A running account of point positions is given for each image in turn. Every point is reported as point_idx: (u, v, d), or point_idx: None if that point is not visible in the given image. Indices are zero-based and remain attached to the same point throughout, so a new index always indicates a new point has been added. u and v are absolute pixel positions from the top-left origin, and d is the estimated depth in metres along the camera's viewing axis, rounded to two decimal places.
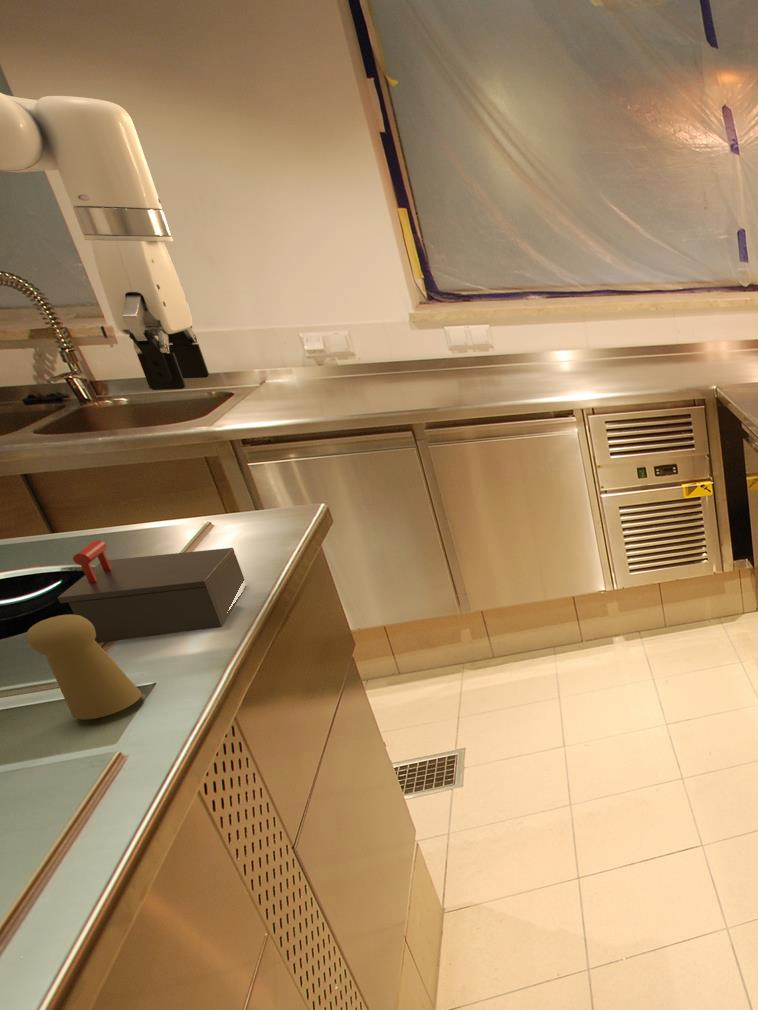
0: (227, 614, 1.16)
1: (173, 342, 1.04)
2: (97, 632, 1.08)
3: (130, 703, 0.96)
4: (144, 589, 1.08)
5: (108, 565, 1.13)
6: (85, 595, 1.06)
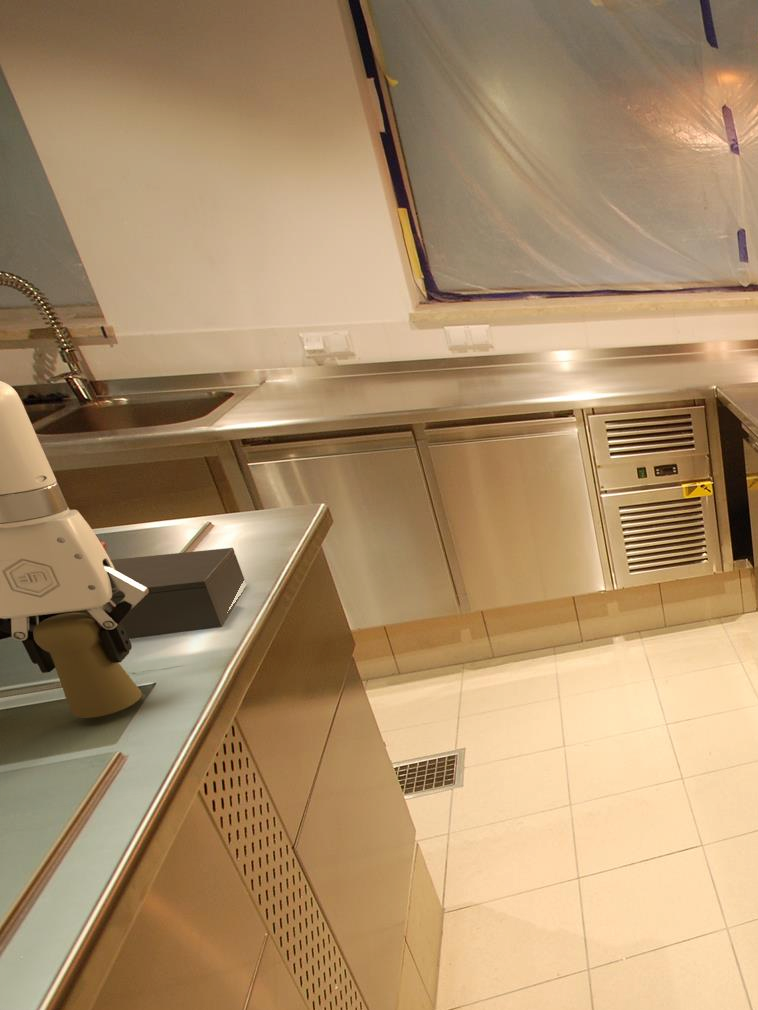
0: (227, 614, 1.16)
1: None
2: None
3: (130, 703, 0.96)
4: None
5: None
6: None
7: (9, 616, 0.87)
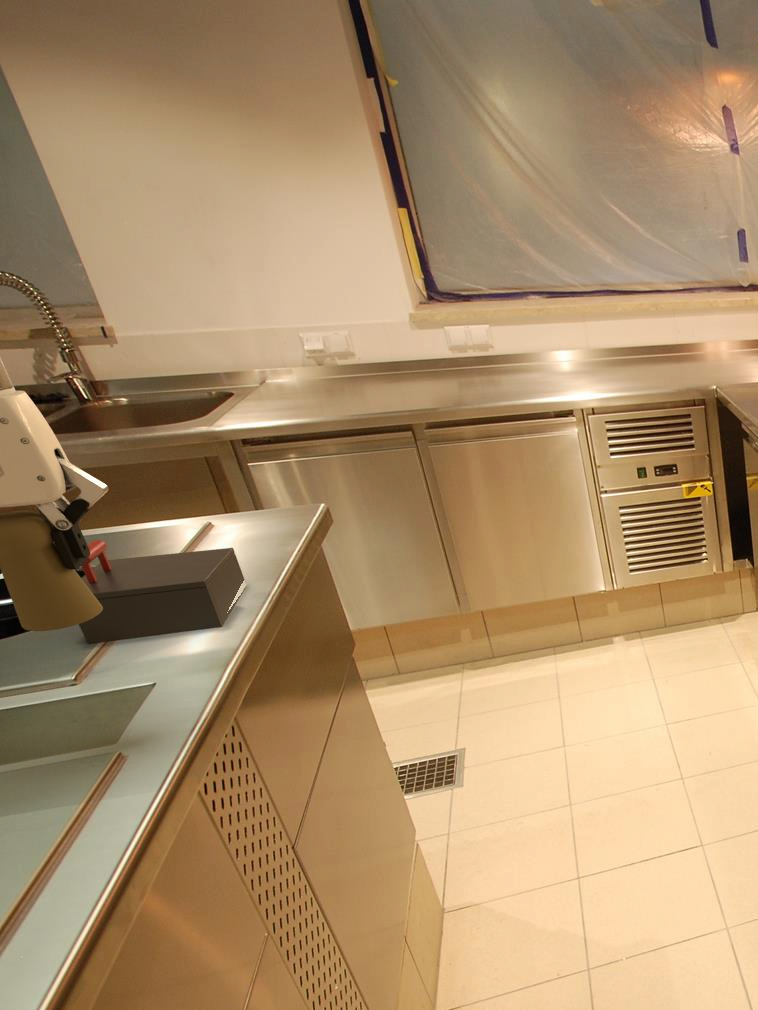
0: (227, 614, 1.16)
1: None
2: (97, 632, 1.08)
3: (90, 617, 0.85)
4: (144, 589, 1.08)
5: (108, 565, 1.13)
6: None
7: None
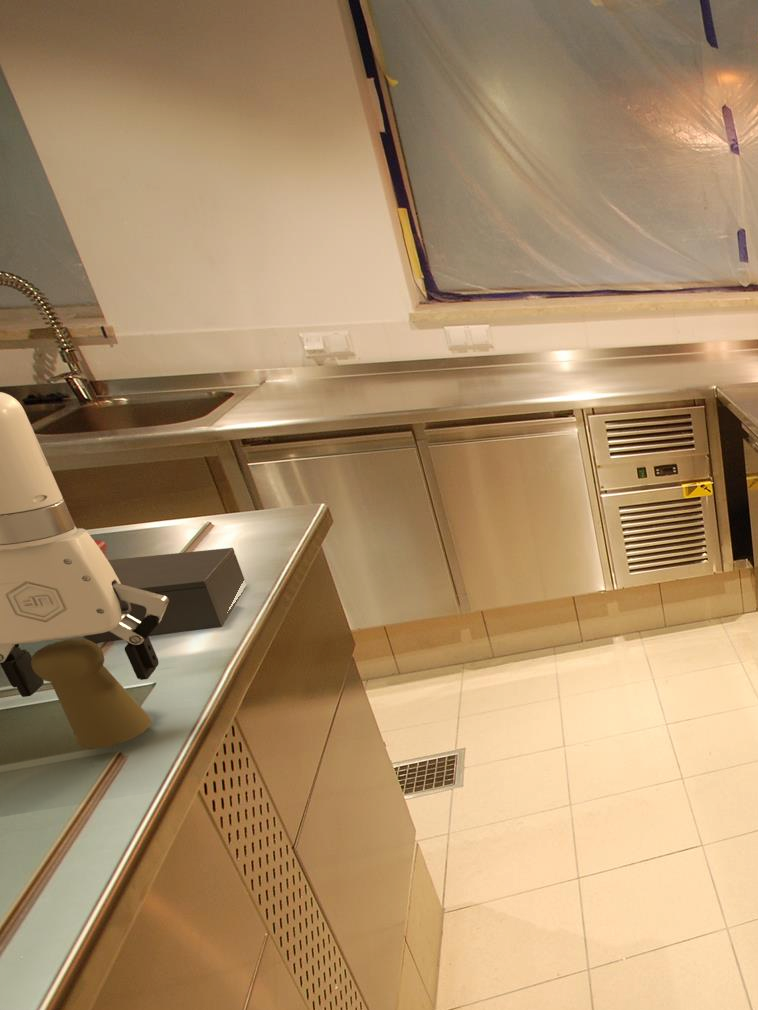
0: (227, 614, 1.16)
1: (14, 655, 0.84)
2: None
3: (140, 731, 0.90)
4: (144, 589, 1.08)
5: None
6: None
7: (13, 642, 0.82)
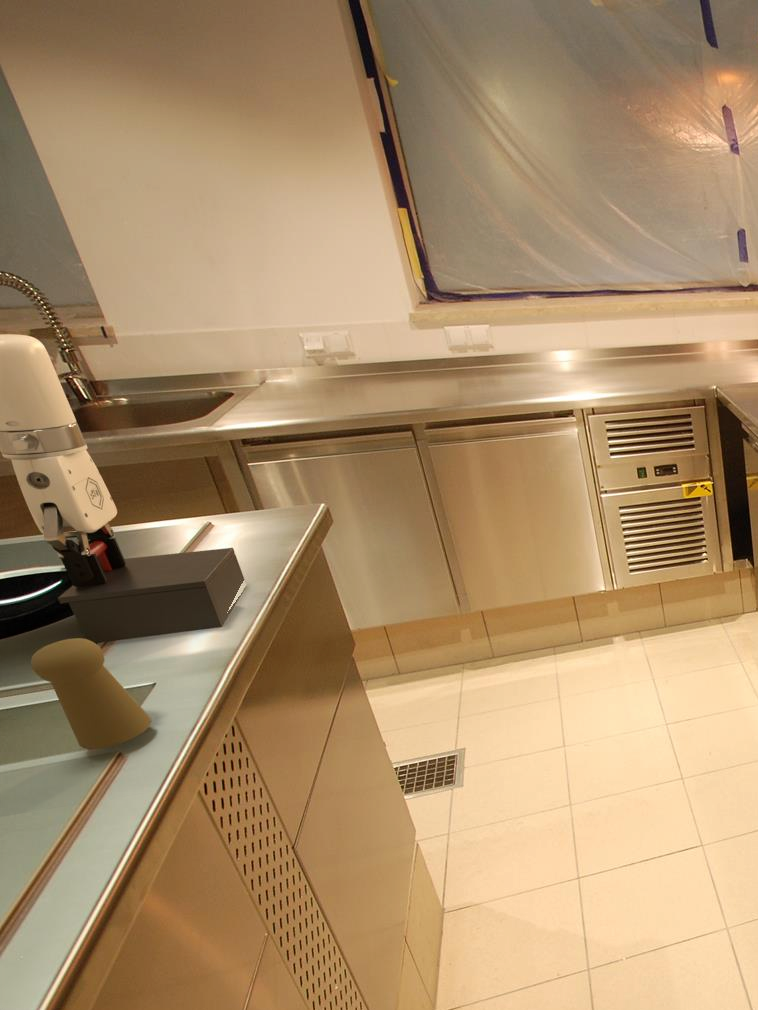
0: (227, 614, 1.16)
1: None
2: (97, 632, 1.08)
3: (140, 731, 0.90)
4: (144, 589, 1.08)
5: (108, 565, 1.13)
6: (85, 595, 1.06)
7: (97, 529, 1.07)
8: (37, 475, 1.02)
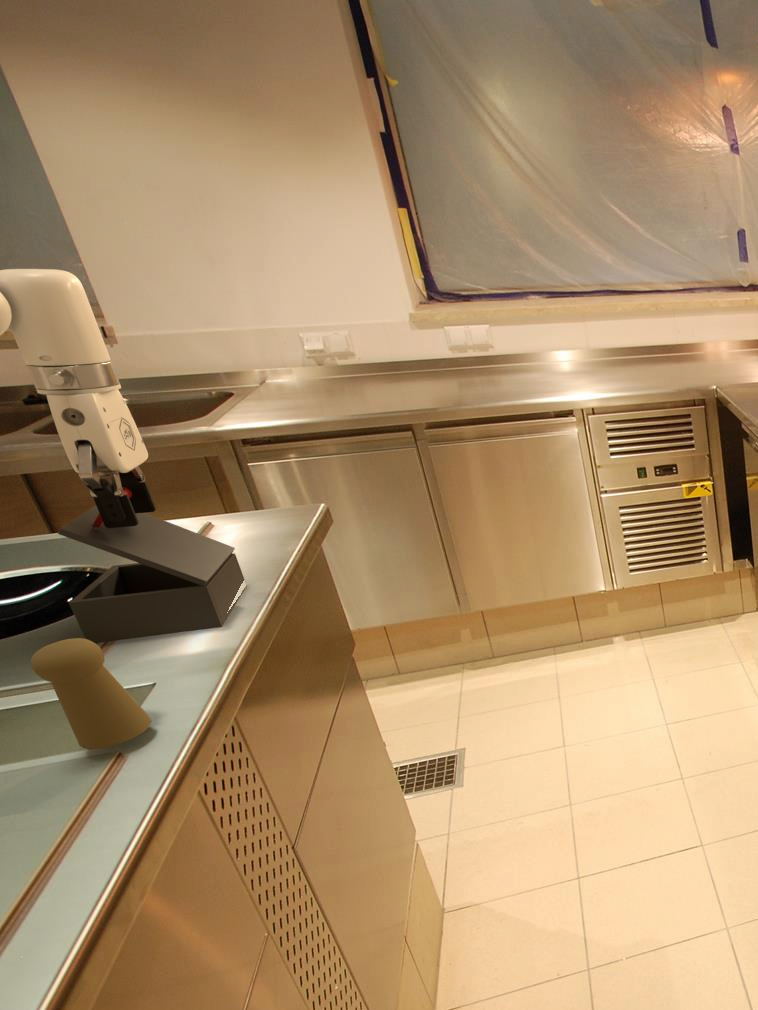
0: (227, 614, 1.16)
1: None
2: (97, 632, 1.08)
3: (140, 731, 0.90)
4: (146, 561, 1.07)
5: None
6: (88, 539, 1.04)
7: (130, 469, 1.06)
8: (72, 412, 1.01)
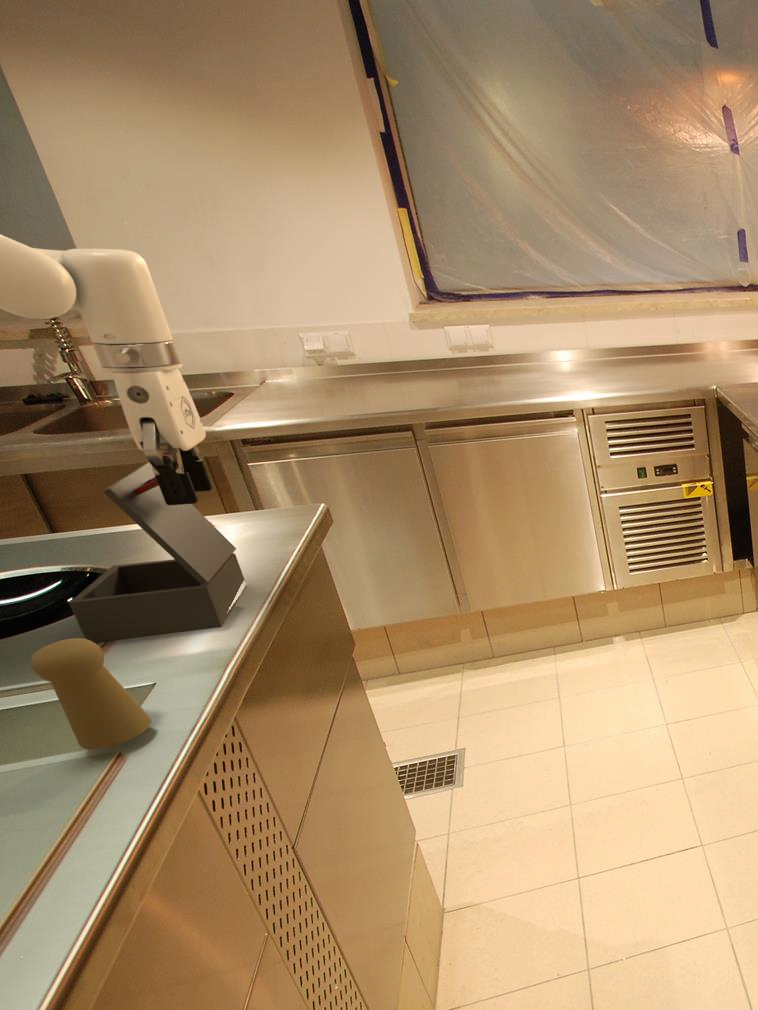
0: (227, 614, 1.16)
1: None
2: (97, 632, 1.08)
3: (140, 731, 0.90)
4: (166, 544, 1.07)
5: None
6: (126, 506, 1.04)
7: (190, 447, 1.08)
8: (136, 390, 1.03)
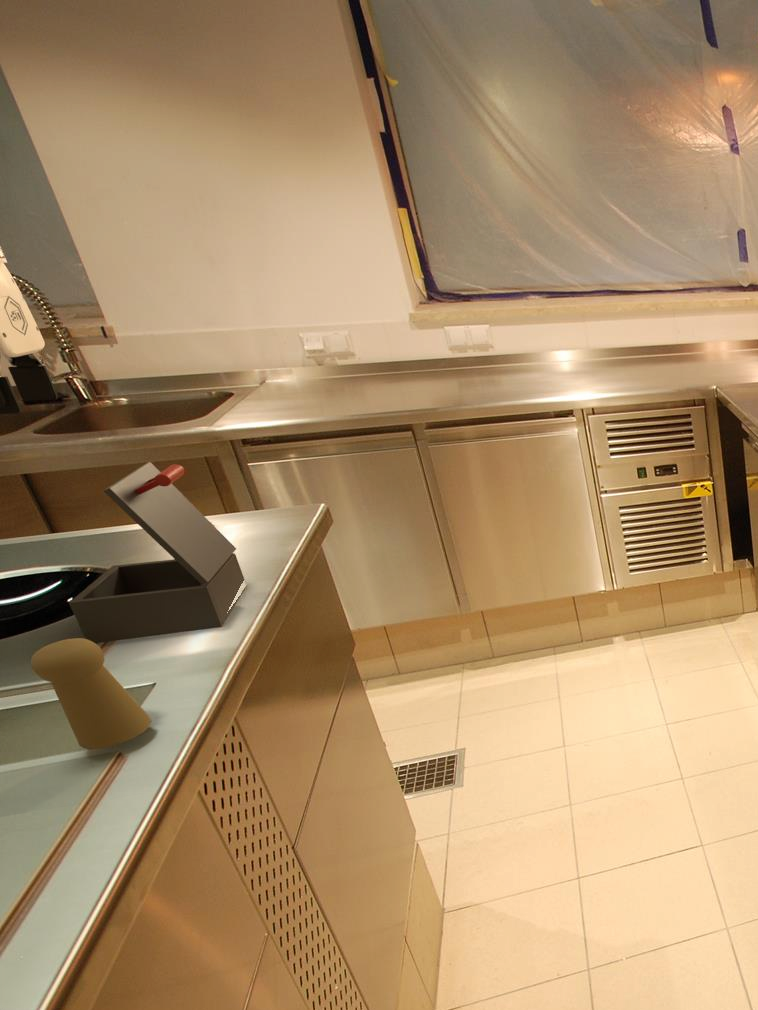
0: (227, 614, 1.16)
1: None
2: (97, 632, 1.08)
3: (140, 731, 0.90)
4: (166, 544, 1.07)
5: None
6: (127, 506, 1.04)
7: (18, 354, 0.96)
8: None
